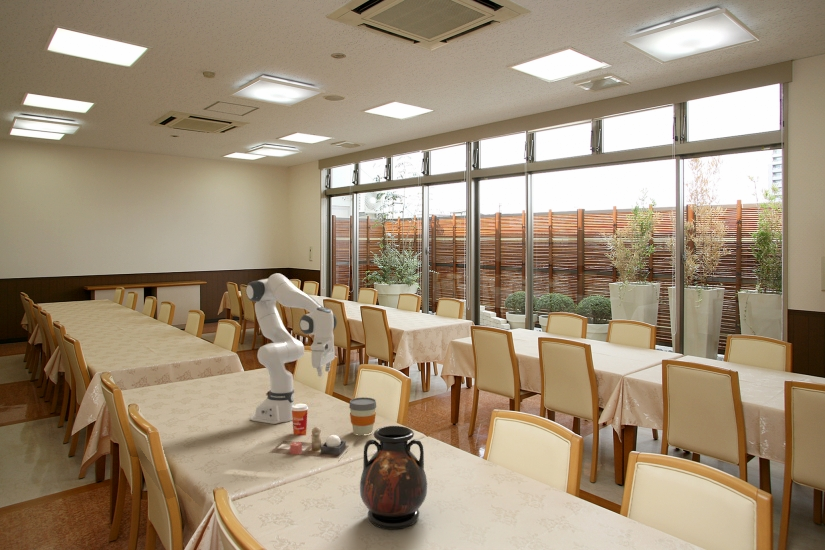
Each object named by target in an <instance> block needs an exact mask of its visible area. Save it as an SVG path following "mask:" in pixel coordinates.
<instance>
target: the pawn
mask: <svg viewBox="0 0 825 550" xmlns="http://www.w3.org/2000/svg"><path fill="white" fill-rule="evenodd" d="M311 443H312V450H313V451H318V450H321V444H322V430H321V428H320V427H318V426H315V427H313V428H312V429H311Z"/></svg>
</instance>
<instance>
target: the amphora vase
mask: <svg viewBox="0 0 825 550" xmlns="http://www.w3.org/2000/svg"><path fill="white" fill-rule="evenodd" d="M372 434H373V438H374V439H369V440H367V441H366V443H365V445H364V447H363V460H362V461H363V462H362V463H363V464H362V465H363V468H362V469H363V470H362V473H361V476H360V481H359V493H360V498H361V500H362V502H363V504H364V506H365V507H366V508H367V509H368V512H367V517H368V520H369V521H370V523H371V524H373V525H374V526H376V527H379V528H382V529H386V530H399V529H404V528H408V527H410V526H411V525H413V524H415V523H416V522H417V520H418V519H419V517H420V511H419V509H420V508H421V506H422V505H423V503H424V502H425V501H426V497H427V493H428V480H427V474H426V472H425V467H424V466H425V460H424V459H425V457H424V456H425V454H424V445H423V443H422V442H421V440H419V439H413V438H414V436H415V433H414V431H413V430H412V429H411V428H410V427H407V426H406V427H405V426H401V425H388V426H383V427H379V428H376V430H374V431H373V433H372ZM375 439H376V440H375ZM378 441H379V442H378ZM408 441H409V442H408ZM370 445H371V446H372V445H373V446H375V447H376V452H374V454H373V455H372V456H371V458H368V450H369V447H370ZM413 445H417V446H418V447H419V459H418V458H417V457H416V455H415V454H414V453H413V451H411V448H412V446H413Z"/></svg>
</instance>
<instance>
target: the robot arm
mask: <svg viewBox="0 0 825 550" xmlns="http://www.w3.org/2000/svg"><path fill="white" fill-rule="evenodd" d="M245 294H246V297H247V299H248V300H249V301H251V302H255V303H254V311H255V316H256V319H257V323H258V325H259V328H260V330H261V331H260V332H261V334H262V335H263V336H264V337H265V338H266V339H269V340H271V342H270V343H269V342H268V343H266V344H264V345H262V346H260V347H259V348H258V350H257V354H256V355H257V360H258V362H259V363H260V364H261V365H263V366H264V367H265V368H266V370H267V373H268V375H269V381H270V382H269V385H270V389H269V391H267V392H266V393H265V396H267V397H266V398H265V399H263V401H261V402H260V403H259V404H258V405H257V406H256V408H255V411H254V412H255V413H253V415H251V417H250V421H253V422H260V423H266V424H272V425H274V424H275V425H276V424H279V423H287V422H291V421H293V420H292V410H291V408H292V406H293V405H295V403H294V401H295V389H294V375H293V374H292V372H290V371H289V370H287V369H286V366H285V364H287V363H292V362H295V361H297V360H299V359H301V358H302V357H304V354H305V346H304V344H303V342H302V341H301V340H299V339H297V338H295V337H293V336H292V334H291V333H289V331H288V330H287V328H286V327H285V325H284V323H283V321H282V318H281V315H280V313H279V311H278V310H279V309H278V308H277V302H278V303H279V304H280V305H282V306H283V307H287V308H297V309H303V310H306V311H307V312H309V313H306V314H303V315H302V316H301V317H300V319H299V328H300V331H301V332H302V333H303V334H304V335H313V336H314V337H313V342H312V344H311V345H310V350H311V366H312V368H314V369H316V372H317V376H318V377H322V376H324V374H323V373H324V372H323V370H322V369H323V367H324V366H325V367H324V368H325V372H326V373H327V372H330V371H331V366H332V365H331V364H332V361H334V360H335V359H336V358H335V357H336V352H335V351H336V349H335V344H334V343H335V341H334V340H335V336H334V331H335V329H336V327H337V325H338V319H337V317H336V315H335V314H334V313H333V310H332V309H331V308H330V307H329V308H328V307H323V306H322V304H320V303H319V302H318V301H316V299H314V298H313V297H312V296H311V295H309V294H307V293H305V292H304V291H302V290H301V289H300V288H298V287H297V286H296V285H295V284H294V283H293V282H292V281H291V280H290V279H288V277H286V276H285V275H283V274H282V273H277V272H276V273H273V274H271V275H270V276H269V277H268V278H262V279H259V280H253V281H251V282H248V284H247V285H246V287H245Z"/></svg>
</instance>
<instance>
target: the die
mask: <svg viewBox="0 0 825 550" xmlns="http://www.w3.org/2000/svg"><path fill="white" fill-rule="evenodd" d="M298 442H299V441H295V442H293V443H292V444H291V445H290V454H289V455H292V454H298V455H297V456H300V455H299V454H300V453H301V452H302V443H298Z"/></svg>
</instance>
